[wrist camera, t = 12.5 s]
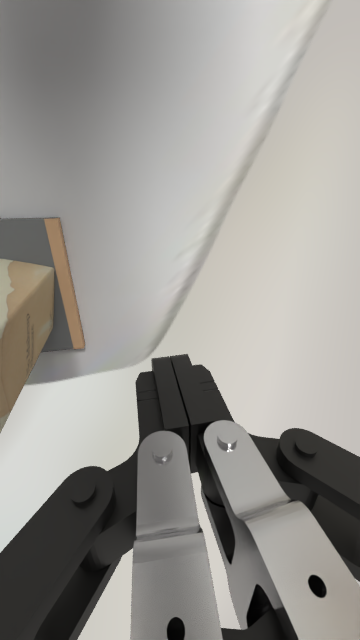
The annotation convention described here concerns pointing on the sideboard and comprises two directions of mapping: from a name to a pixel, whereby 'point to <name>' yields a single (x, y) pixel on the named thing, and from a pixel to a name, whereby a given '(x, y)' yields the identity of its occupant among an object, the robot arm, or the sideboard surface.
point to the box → (22, 325)
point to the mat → (48, 250)
